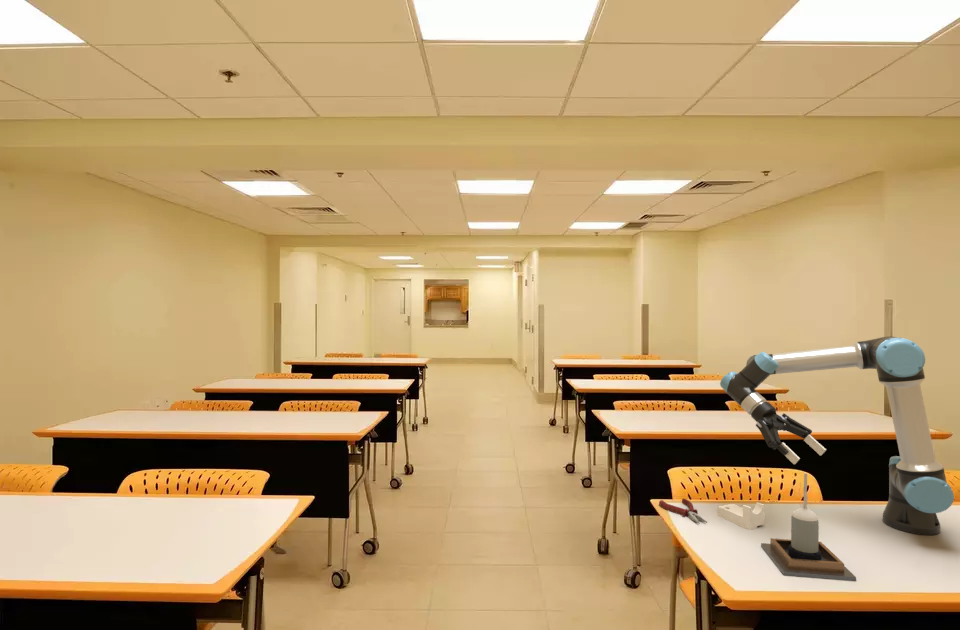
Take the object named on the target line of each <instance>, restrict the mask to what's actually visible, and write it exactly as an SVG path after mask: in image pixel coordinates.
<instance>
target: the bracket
mask: <svg viewBox="0 0 960 630" xmlns="http://www.w3.org/2000/svg"><path fill="white" fill-rule="evenodd" d="M765 511H766V509H765V504H763V503H761V502H756V503H755V506H754V507H753V509H752V507H751V506H749V505H746V504H743V505H742V506H739V505H737V504H735V503H729V504H724V505H718V507H717V516H718V517H720V518H723V519H725V520H727V521H729V522H731V523H733V524H736V525H738V526H740V527H742V528H744V529H747V530H748V531H751V530H755V529H757V528H758V526H764V525H765V523H766V522H765V519H766V518H765V517H766V516H765V513H766V512H765Z"/></svg>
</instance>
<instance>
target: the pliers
mask: <svg viewBox="0 0 960 630" xmlns="http://www.w3.org/2000/svg"><path fill="white" fill-rule="evenodd" d="M681 503H682V504H683V505H685V506H686V507H688V508H687V509H686V508H682V507H679V506H675V505H672V504H670V503H667V502H665V501H664V500H659V502H658V505H659V507H661V508H663V510H666V511H669V512H670V513H671V512H672V513H673V514H678V515H681V516H682V518H686V517H687V518H689V519H690V520H692V521H693V522H695V523H697V524H700V523H701V522H702V523H705V524H708V521H707V520H705V519H704V518H703V517H702V516H701V515H700V514H699V513H698V510H697V509H696V508H695V509H694V505H693V503H692V502H691V501H690V500H688V499H686V498H682V499H681ZM688 509H689V510H688Z"/></svg>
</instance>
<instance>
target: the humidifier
mask: <svg viewBox="0 0 960 630" xmlns="http://www.w3.org/2000/svg"><path fill="white" fill-rule="evenodd" d="M799 485H800V486H799V489H798V492H799V493H798V494H799V495H801V493H800V491H801V483H799ZM807 488H808V473H807V472H804V473H803V488H802V492H803V493H802V494H803V504H802V506H801V504H799V508H796V509H794V510H793V512H792V513H791V516H790V517H791V520H790V523H791V524H790V525H791V526H790V529H791V530H790V531H791V532H790V533H791V534H790V535H791V536H790V537H791V539H790V540H791V544H790V545H789V548H788V555H789V556H790V558H792V559H805V560H819V561H821V552H820V550H819V549H818V547H819V542H820V541H819V540H820V539H819V534H820V533H819V527H820V526H819V523H820V522H819V518H818V516H817V514H816V513H815V512H814V511H812V510H811V509H809V508H808V492H807Z"/></svg>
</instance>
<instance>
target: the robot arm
mask: <svg viewBox="0 0 960 630" xmlns="http://www.w3.org/2000/svg"><path fill="white" fill-rule="evenodd" d="M925 363H926V355H925V352H924V350H923V349H922V348H921V347H920V346H919V345H918V344H917V343H915V342H914V341H913V340H910V339H907V338H905V337H896V336H882V337H878V338H873V339H868V340H867V339H866V340H862V341H861V340H860V341H855V342H854V343H853V344H852V345H851V344H850V345H842V346H834V347H825V348H823V347H822V348H815V349H807V350H806V349H805V350H804V349H803V350H796V351H795V350H794V351H787V352H779V353H769V354H768V353H766V352H765V351H760V352H759V353H758V354H753V355H752V356H749V358H748V359H747V360H746V364H745V367H744V368H742V370H740V371H739V372H736V371H730V372H728V373H727V374H725V375H724V376H722V378H721V380H720V382H719V385H720V387H721V388H722V389H723V391H724V392H726V394H727V395H728V396H729V397H730V398H731V399H732V400H734V402H736V403H737V404H738V406H740V407H741V408H742V409H743V411H745V412H746V413H747V415H749V416H751V418H752V419H753V420H754V421H755V422H756V424H755V427H756V429H758V430H759V432H760V433H761V435H762V437H763V439H764V442H765V443H766V445H767V447H768V448H771V449H772V450H776V449H777V450H778V451H779V452H780V453H781V454H782V455H783V456H785V457H786V459H787V460H789V461H790V462H791V463H792V464H793V465H796V464H797V463H798V462H799V461H800V459H801V458H800V457H799V456H798V455H797V454H796V453H795V452H794V451H793V450H792V449H791V448H790V447H789V446H788V445H786V443H785V442H784V441H783V442H781V438H780V436H779V435H780V434H779V431H783V432H788V433H791V434H793V435H795V436H798V437H800V438H802V439H803V442H805V443H806V444H807V445H809V447H810V448H811V449H813V450H814V451H815V452H816V453H817V454H818V455H819V456H822V455H823V454H825V452H826V451H827V448H825V447H824V446H823V445H822V444H821V443H819V441H818V440H817V439H815V438H814V437H813V435H811V434H812V432H813V430H812V429H810V428H808V426H806V425H803V424H802V423H800V422H799V421H797V420H796V419H793V418H791V417H790V416H789V415H788V414H786V413H782V414H781V415H779V414H778V413H777V409H776V408H775V406H773V405H772V403H770V402H768V401H767V399H766V398H765V397H764V396H762V395H761V394H760V393H759V392H758V391H757V390H756V389H757V388H758V387H759V386H760V385H761V384H762V383H763V382H764V381H766V380H767V379H768V378H769V377H770V376H771V375H781V374H788V373H789V374H790V373H792V374H793V373H800V372H801V373H802V372H813V371H825V370H837V369H849V368H858V369H860V370H869V369H870V370H873V369H874V370H876V373H877V376H878V377H877V378H878V382H879V383H880V384H882V385H884V386H885V388H886V393H887V398H888V403H889V408H890V413H891V418H892V423H893V427H894V432H895V438H896V443H897V448H898V452H899V456H897V455H894V456H891V457H890V458H889V464H888V468H889V469H888V471H889V472H888V475H889V476H888V477H889V478H888V480H889V481H888V482H889V483H888V485H889V487H888V488H889V490H888V491H889V492H888V494H889V495H888V501H887V503H886V506H885V507H884V509H883V513H882V522H883V523H884V524H886V525H887V526H889V527H891V528H894V529H896V530H899V531H903V532H906V533H910V534H914V535H915V534H916V535H924V536H925V535H926V536H933V535H939V534H940V533H941V523H940V521H939V518H938V515H937V514H939V513H942V512H945V511H947V510H948V509H949V508H950V507H951V506H952V505H953V503H954V500H955V494H954V491H953V489H952V487H951V486H950V484H949V483H948V482H947V477H946V473H945V468H944V464H942V463H940V462H939V461H938V460H936V456H935V451H934V446H933V440H932V436H931V431H930V428H929V421H928V417H927V412H926V406H925V401H924V397H923V392H922V388H921V383H923V381H924V380H926V376H925V370H924V367H925Z"/></svg>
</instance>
